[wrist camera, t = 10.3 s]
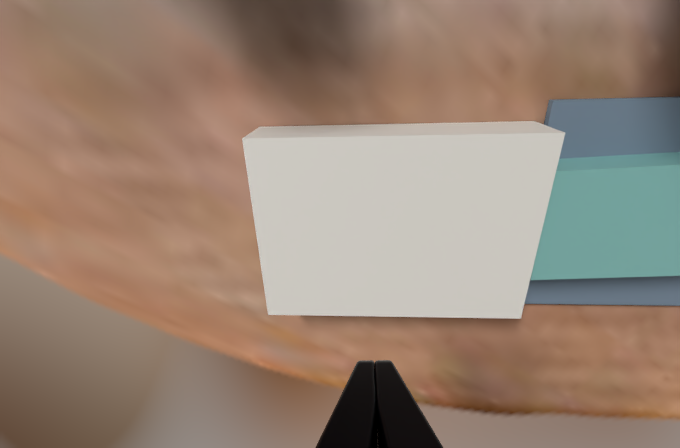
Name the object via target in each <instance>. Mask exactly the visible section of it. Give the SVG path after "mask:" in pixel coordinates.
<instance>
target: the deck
mask: <svg viewBox="0 0 680 448" xmlns="http://www.w3.org/2000/svg"><path fill="white" fill-rule="evenodd" d="M564 137H565V132H562V131H560V130H557V129H554V128H551V127H549V126H546V125H543V124H541V123H538V122H535V121H514V122H465V123H416V124H367V125H318V126H269V127H259V128H257V129H256V130H254V131H253V132H251V133H250V134H248V135H247V136H245V137H244V138H242V140H243V147H244V154H245V161H246V168H247V174H248V181H249V188H250V195H251V201H252V208H253V215H254V222H255V229H256V235H257V242H258V249H259V256H260V263H261V269H262V276H263V283H264V290H265V297H266V303H267V310H268V315H315V316H381V317H447V318H513V319H521V316H522V311H523V307H524V303H525V299H526V295H527V291H528V286H529V282H530V278H531V274H532V270H533V266H534V261H535V257H536V253H537V249H538V245H539V241H540V236H541V232H542V228H543V224H544V220H545V216H546V211H547V207H548V203H549V199H550V195H551V191H552V186H553V182H554V178H555V174H556V170H557V166H558V162H559V157H560V153H561V149H562V145H563V141H564Z"/></svg>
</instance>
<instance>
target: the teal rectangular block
mask: <svg viewBox="0 0 680 448" xmlns="http://www.w3.org/2000/svg"><path fill="white" fill-rule="evenodd" d="M653 276H680V152H668V153H651V154H634V155H617V156H599V157H582V158H565V159H559V162H558V166H557V170H556V174H555V178H554V182H553V186H552V191H551V195H550V199H549V203H548V207H547V211H546V216H545V220H544V224H543V228H542V232H541V236H540V241H539V245H538V249H537V253H536V257H535V261H534V266H533V270H532V274H531V278H530V280H553V279H586V278H619V277H653Z"/></svg>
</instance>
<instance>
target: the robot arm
mask: <svg viewBox="0 0 680 448" xmlns="http://www.w3.org/2000/svg"><path fill="white" fill-rule="evenodd" d="M377 433H378V436H377ZM316 448H443V447H442V445H441V443H440V442H439V440H438V438H437V437H436V435H435V433H434V431H433V430H432V428H431V426H430V425H429V423H428V421H427V420H426V418H425V416H424V415H423V413H422V411H421V410H420V408H419V406H418V405H417V403H416V401H415V400H414V398H413V396H412V395H411V393H410V391H409V390H408V388H407V386H406V384H405V383H404V381H403V379H402V378H401V376H400V374H399V373H398V371H397V369H396V368H395V366H394V364H393V363H392V362H391V361H389V360H378V361H376V362H375V364H374V361H358V362H357V364H356V366H355V368H354V370H353V372H352V374H351V376H350V378H349V380H348V382H347V384H346V386H345V388H344V390H343V392H342V395H341V397H340V399H339V401H338V403H337V405H336V407H335V409H334V411H333V413H332V415H331V417H330V419H329V421H328V423H327V425H326V428H325V429H324V431H323V433H322V435H321V437H320V440H319V442H318V444H317V446H316Z"/></svg>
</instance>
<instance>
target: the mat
mask: <svg viewBox="0 0 680 448" xmlns="http://www.w3.org/2000/svg"><path fill="white" fill-rule="evenodd" d="M544 125H546V126H549V127H551V128H554V129H557V130H560V131H562V132H565V137H564V141H563V145H562V149H561V153H560V157H559V159H565V158H582V157H599V156H617V155H634V154H651V153H668V152H680V97H645V98H604V99H562V100H549V103H548V108H547V112H546V117H545V122H544ZM524 304H594V305H674V306H680V276H653V277H619V278H586V279H553V280H530V282H529V286H528V291H527V295H526V299H525V303H524Z"/></svg>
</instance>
